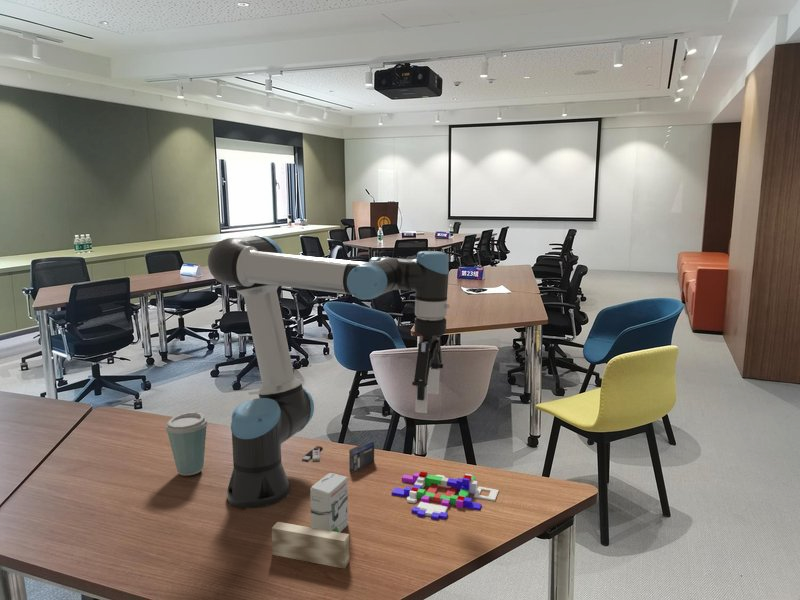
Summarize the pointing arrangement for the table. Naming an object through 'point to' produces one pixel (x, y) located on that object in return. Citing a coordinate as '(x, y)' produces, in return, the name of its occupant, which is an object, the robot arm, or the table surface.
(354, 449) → the mini dv tape
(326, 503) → the ink box
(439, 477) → the building block set
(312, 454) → the usb flash drive
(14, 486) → the table surface
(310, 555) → the board
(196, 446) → the disposable coffee cup
